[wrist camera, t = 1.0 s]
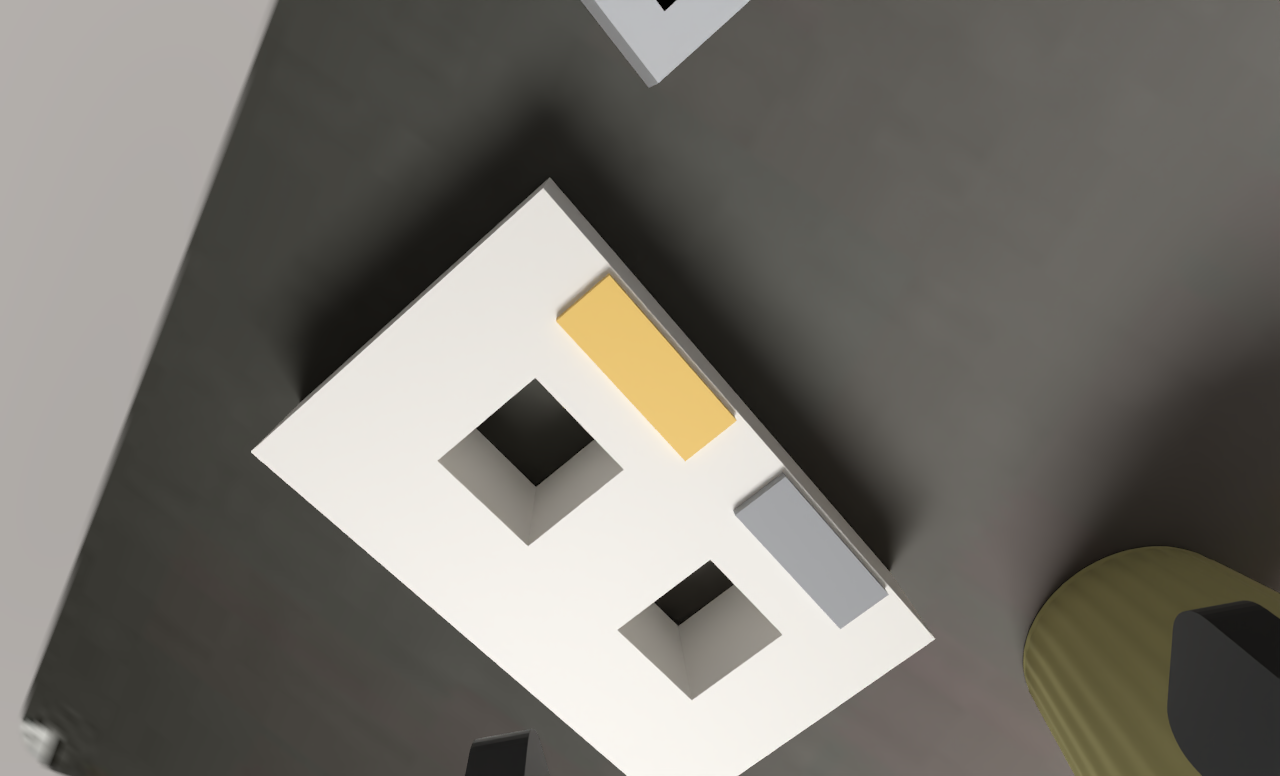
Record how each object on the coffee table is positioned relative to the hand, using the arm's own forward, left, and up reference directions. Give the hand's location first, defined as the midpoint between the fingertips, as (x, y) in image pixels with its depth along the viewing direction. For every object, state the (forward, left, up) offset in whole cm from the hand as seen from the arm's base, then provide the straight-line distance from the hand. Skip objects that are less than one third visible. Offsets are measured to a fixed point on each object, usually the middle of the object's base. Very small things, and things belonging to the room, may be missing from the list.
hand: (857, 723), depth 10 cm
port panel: (+7, +5, -23) cm, 25 cm away
